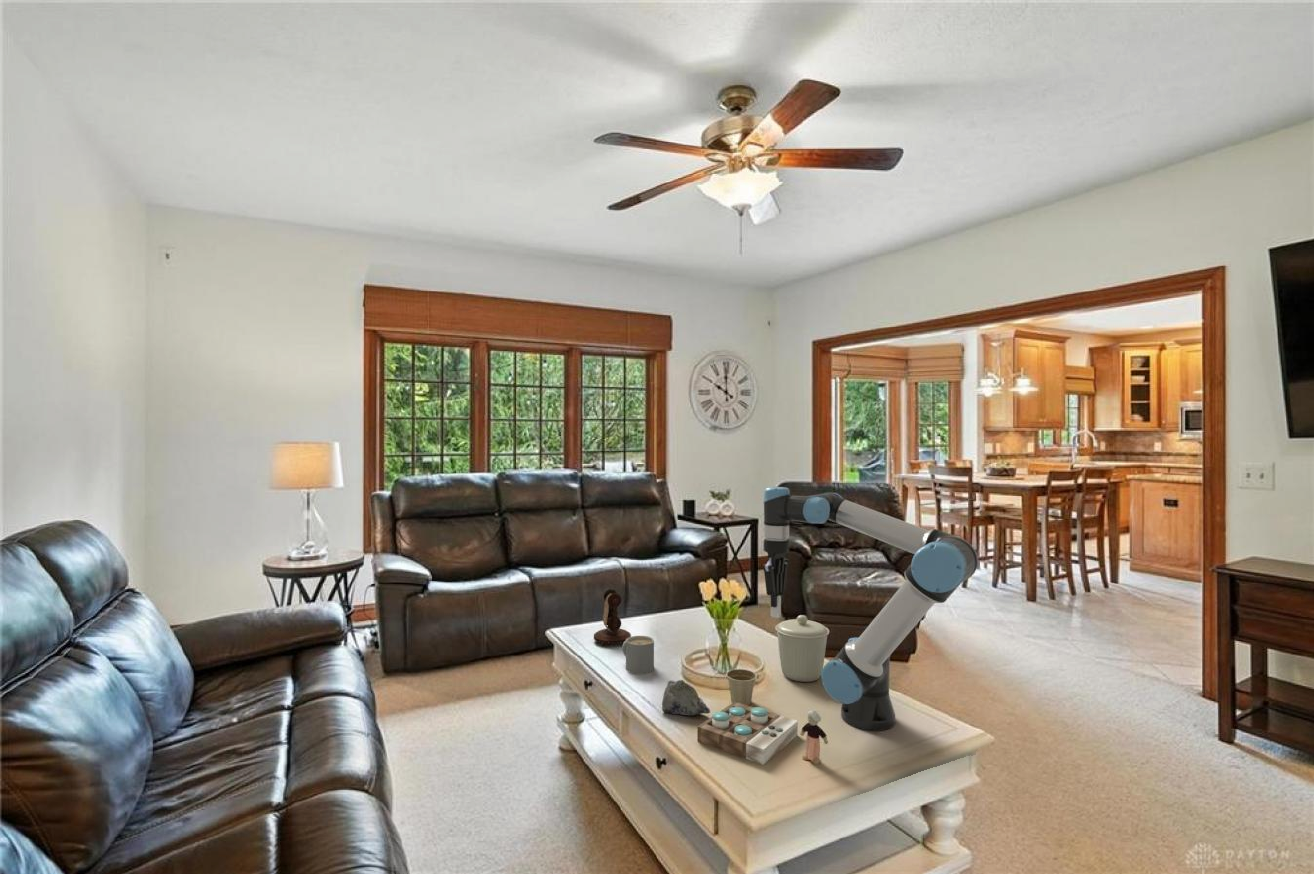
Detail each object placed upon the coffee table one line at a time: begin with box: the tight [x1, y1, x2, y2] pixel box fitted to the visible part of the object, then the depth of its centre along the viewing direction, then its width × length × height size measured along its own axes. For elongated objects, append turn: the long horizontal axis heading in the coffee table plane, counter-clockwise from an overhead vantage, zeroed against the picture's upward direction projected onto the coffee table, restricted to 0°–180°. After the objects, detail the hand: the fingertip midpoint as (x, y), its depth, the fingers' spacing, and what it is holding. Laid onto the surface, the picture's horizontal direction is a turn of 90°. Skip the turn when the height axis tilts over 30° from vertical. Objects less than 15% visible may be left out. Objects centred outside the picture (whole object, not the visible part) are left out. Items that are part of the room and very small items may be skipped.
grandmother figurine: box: [799, 710, 829, 765], centre depth 163 cm, size 8×4×13 cm, turn 58°
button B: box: [734, 725, 752, 738], centre depth 170 cm, size 5×5×4 cm
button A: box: [751, 706, 769, 726], centre depth 177 cm, size 5×5×4 cm
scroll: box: [593, 588, 632, 647], centre depth 254 cm, size 15×15×20 cm
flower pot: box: [725, 668, 758, 706], centre depth 198 cm, size 9×9×9 cm
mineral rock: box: [661, 679, 711, 717], centre depth 189 cm, size 13×11×10 cm
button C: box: [729, 707, 745, 718], centre depth 182 cm, size 5×5×4 cm
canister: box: [774, 614, 830, 683], centre depth 218 cm, size 18×18×21 cm
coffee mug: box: [621, 635, 655, 675], centre depth 227 cm, size 13×10×10 cm
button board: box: [696, 702, 799, 766], centre depth 175 cm, size 20×20×4 cm
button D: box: [711, 711, 729, 730], centre depth 175 cm, size 5×5×4 cm
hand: (775, 616), depth 191 cm, fingers closed
